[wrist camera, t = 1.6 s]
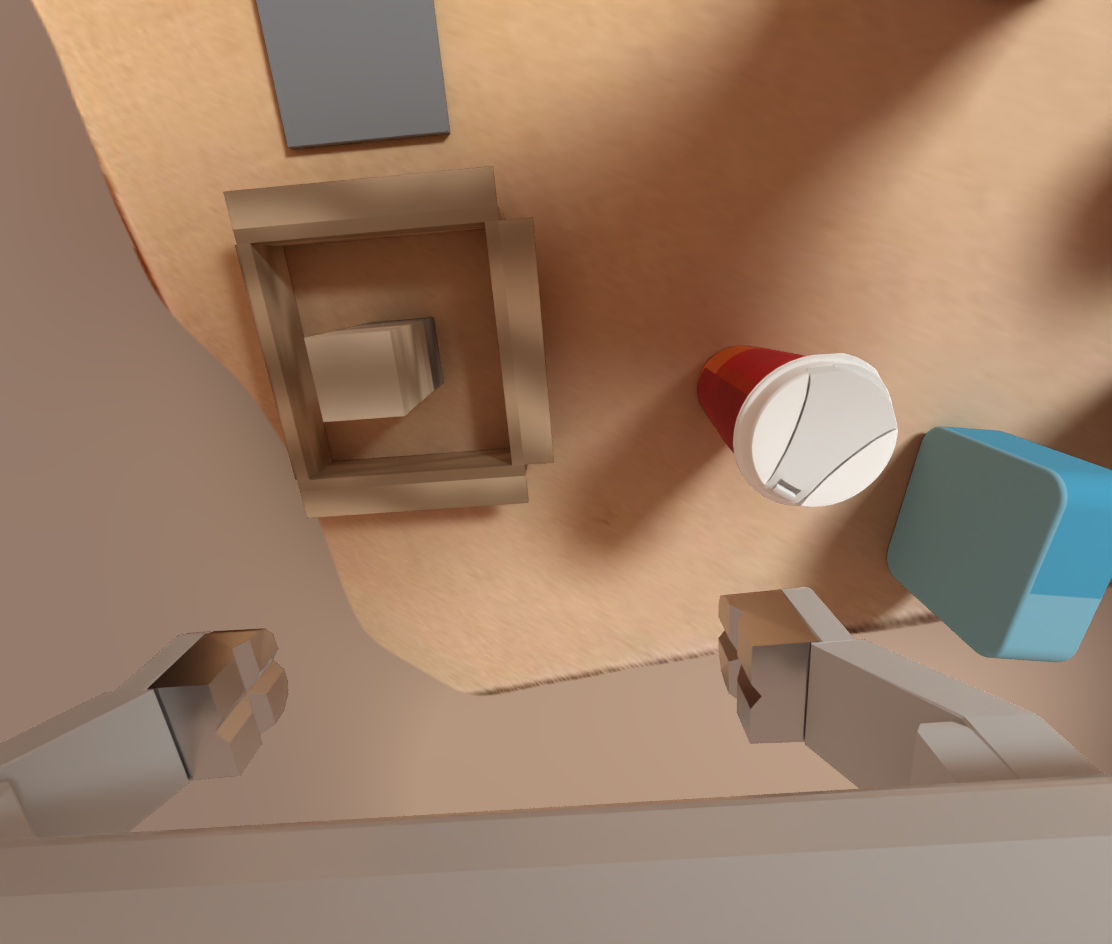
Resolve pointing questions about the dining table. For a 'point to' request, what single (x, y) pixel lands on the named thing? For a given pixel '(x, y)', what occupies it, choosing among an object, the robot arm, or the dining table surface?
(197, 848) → the robot arm
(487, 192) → the wooden frame
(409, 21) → the rubber mat
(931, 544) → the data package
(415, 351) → the box
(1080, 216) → the dining table surface
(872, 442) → the paper cup
